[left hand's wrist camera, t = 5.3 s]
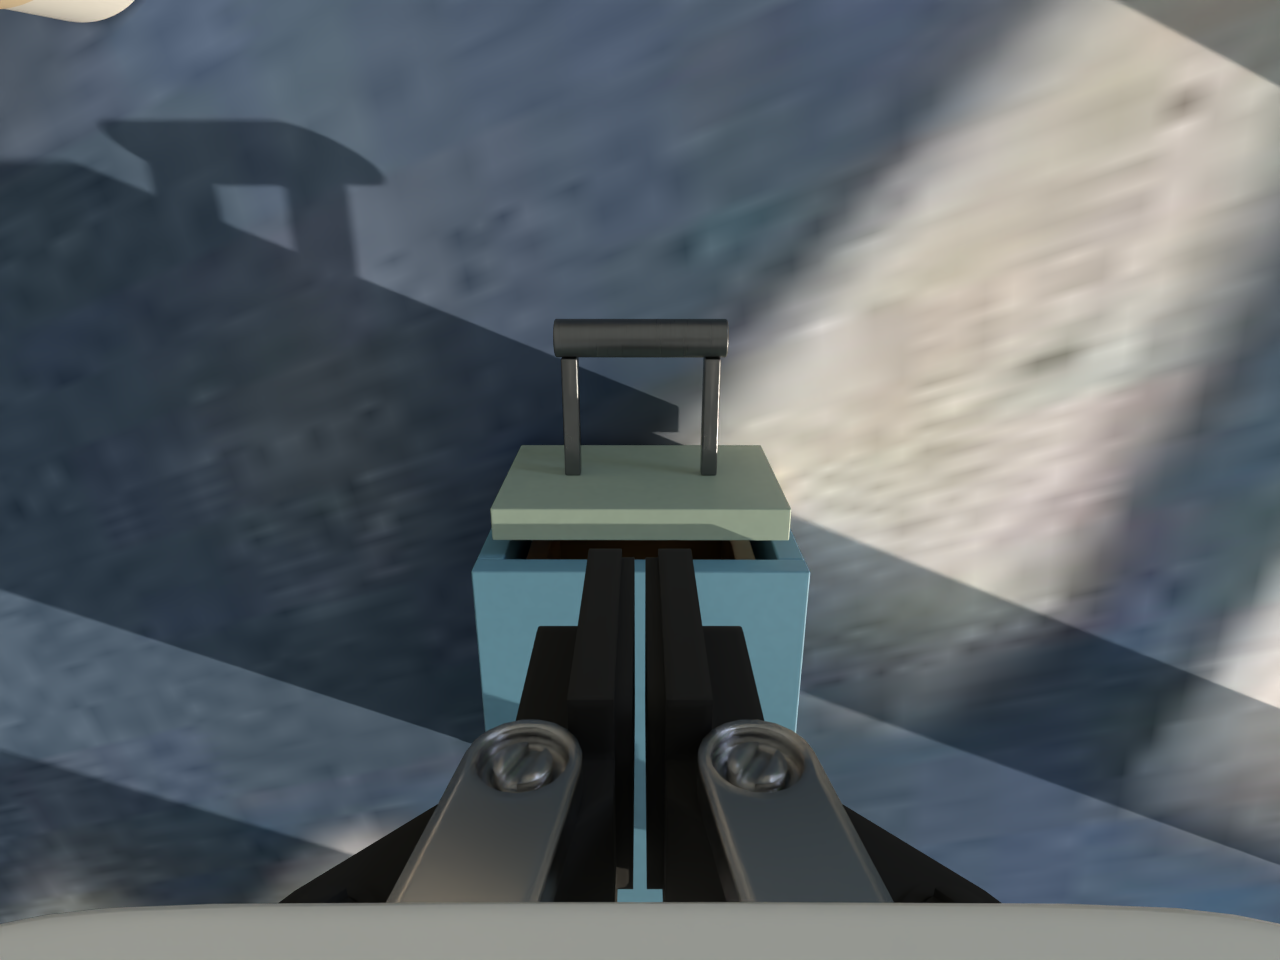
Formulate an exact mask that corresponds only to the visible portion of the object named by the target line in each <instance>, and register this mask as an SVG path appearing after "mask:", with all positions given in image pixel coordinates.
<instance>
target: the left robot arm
mask: <svg viewBox="0 0 1280 960" xmlns="http://www.w3.org/2000/svg"><path fill="white" fill-rule="evenodd" d="M634 764H635V557H622V549H589V551H588V558H587V565H586V571H585V578H584V585H583V592H582V599H581V606H580V613H579V620H578V626H539V627H538V629H537V632H536V637H535V641H534V645H533V649H532V654H531V658H530V662H529V666H528V670H527V675H526V679H525V683H524V687H523V691H522V696H521V700H520V704H519V708H518V713H517V717H516V721H513V722H508V723H504V724H501V725H499V726H497V727H494V728H492V729H490V730H488V731H486V732H485V733H484V734H482V735H481V736H480V737H478V738H477V739H476V740H474V742H473V743H472V744H471V746H470V747H469V748H468V750H467V751H466V752H465V754H464V756H463V758H462V760H461V762H460V764H459V765H458V767H457V769H456V771H455V773H454V775H453V777H452V779H451V781H450V782H449V784H448V786H447V788H446V790H445V792H444V794H443V796H442V798H441V799H440V801H439V803H438V804H437V805H436V806H434V807H432V808H431V809H429V810H427V811H426V812H424V813H423V814H421V815H419V816H418V817H416V818H414V819H413V820H411V821H409V822H408V823H406V824H404V825H403V826H401V827H399V828H398V829H396V830H394V831H393V832H391V833H390V834H388V835H386V836H385V837H383V838H381V839H380V840H378V841H376V842H375V843H373V844H371V845H370V846H368V847H366V848H365V849H363V850H362V851H360V852H358V853H357V854H355V855H353V856H352V857H350V858H348V859H347V860H345V861H343V862H342V863H340V864H338V865H337V866H335V867H334V868H332V869H330V870H329V871H327V872H325V873H324V874H322V875H320V876H319V877H317V878H315V879H314V880H312V881H310V882H309V883H307V884H306V885H304V886H302V887H301V888H299V889H297V890H296V891H294V892H293V893H291V894H290V895H289V896H287V897H286V898H285V899H283V900H282V901H281V902H279V903H275V904H198V905H172V906H146V907H121V908H101V909H92V910H83V911H75V912H66V913H57V914H48V915H42V916H37V917H32V918H27V919H22V920H17V921H12V922H8V923H3V924H0V960H1280V924H1277V923H1272V922H1268V921H1263V920H1258V919H1253V918H1248V917H1243V916H1238V915H1232V914H1223V913H1214V912H1205V911H1197V910H1188V909H1179V908H1159V907H1134V906H1108V905H1082V904H1005V903H1001V902H999V901H998V900H997V899H995V898H994V897H993V896H991V895H990V894H989V893H987V892H986V891H984V890H983V889H981V888H979V887H978V886H976V885H974V884H973V883H971V882H970V881H968V880H966V879H965V878H963V877H961V876H960V875H958V874H956V873H955V872H953V871H951V870H950V869H948V868H946V867H945V866H943V865H942V864H940V863H938V862H937V861H935V860H933V859H932V858H930V857H928V856H927V855H925V854H923V853H922V852H920V851H918V850H917V849H915V848H914V847H912V846H910V845H909V844H907V843H905V842H904V841H902V840H900V839H899V838H897V837H895V836H894V835H892V834H890V833H889V832H887V831H886V830H884V829H882V828H881V827H879V826H877V825H876V824H874V823H872V822H871V821H869V820H867V819H866V818H864V817H862V816H861V815H859V814H857V813H856V812H854V811H853V810H851V809H849V808H848V807H846V806H844V805H843V804H842V803H841V801H840V799H839V798H838V796H837V794H836V792H835V790H834V788H833V786H832V784H831V782H830V781H829V779H828V777H827V775H826V773H825V771H824V769H823V767H822V765H821V764H820V762H819V760H818V758H817V756H816V754H815V752H814V751H813V750H812V748H811V747H810V746H809V744H808V743H807V742H806V740H804V739H803V738H802V737H800V736H799V735H798V734H796V733H795V732H794V731H792V730H790V729H788V728H786V727H783V726H781V725H779V724H776V723H772V722H767V721H764V717H763V713H762V708H761V704H760V700H759V696H758V691H757V687H756V683H755V679H754V675H753V670H752V666H751V662H750V658H749V654H748V649H747V645H746V641H745V637H744V632H743V629H742V627H741V626H702V620H701V613H700V606H699V599H698V592H697V585H696V578H695V571H694V565H693V558H692V551H691V549H658V557H645V764H646V867H647V889H662V895H663V902H617V895H618V889H633V867H634Z"/></svg>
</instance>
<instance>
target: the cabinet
mask: <svg viewBox="0 0 1280 960" xmlns="http://www.w3.org/2000/svg"><path fill="white" fill-rule="evenodd" d="M531 542H532V540H493V539H492V528H491V530H490V532H489V534H488V536H487V539H486V541H485V543H484V545H483V547H482V550H481V552H480V554H479V556H478V558H477V560H476V563H475V565H474V567H473V569H472V571H471V575H472V587H473V598H474V609H475V620H476V631H477V643H478V654H479V665H480V676H481V688H482V699H483V710H484V721H485V732H486V731H488V730H490V729H492V728H494V727H497V726H499V725H501V724H504V723H508V722H513V721H516V717H517V713H518V708H519V704H520V700H521V696H522V691H523V687H524V683H525V679H526V675H527V670H528V666H529V662H530V658H531V654H532V649H533V645H534V641H535V637H536V632H537V629H538V627H539V626H578V620H579V613H580V606H581V599H582V592H583V585H584V578H585V571H586V565H587V559H526V558H527V555H528V552H529V549H530V546H531ZM750 543H751V546H752V550H753V553H754V556H755V559H756V560H693V565H694V571H695V578H696V585H697V592H698V599H699V606H700V613H701V620H702V626H741V627H742V629H743V632H744V637H745V641H746V645H747V649H748V654H749V658H750V662H751V666H752V670H753V675H754V679H755V683H756V687H757V691H758V696H759V700H760V704H761V708H762V713H763V717H764V721H767V722H772V723H776V724H779V725H781V726H783V727H786V728H788V729H790V730H792V731H794V732H795V733H796V725H797V714H798V703H799V692H800V681H801V669H802V658H803V647H804V636H805V625H806V614H807V603H808V592H809V581H810V571H809V569H808V566H807V564H806V562H805V560H804V558H803V556H802V554H801V551H800V549H799V547H798V545H797V543H796V540H795V538H794V536H793V534H792V531H791V529H790V533H789V540H750ZM617 902H663V895H662V889H647V867H646V764H645V560H635V764H634V867H633V889H618V895H617Z"/></svg>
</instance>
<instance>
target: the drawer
mask: <svg viewBox="0 0 1280 960" xmlns="http://www.w3.org/2000/svg"><path fill="white" fill-rule="evenodd" d="M728 343H729V327H728V321H727V320H726V319H555V321H554V327H553V344H554V353H555V356H556V357H562V358H561V377H562V403H563V430H564V445H521V447H520V449H519V451H518V453H517V455H516V457H515V460H514V462H513V464H512V466H511V468H510V470H509V472H508V474H507V476H506V478H505V480H504V482H503V484H502V486H501V488H500V490H499V492H498V494H497V496H496V499H495V501H494V503H493V505H492V507H491V509H490V513H491V526H492V539H493V540H532V542H531V546H530V549H529V552H528V555H527V558H526V559H587V558H588V551H589V549H622V557H635V560H645V557H658V549H691V551H692V558H693V560H756V559H755V556H754V553H753V550H752V546H751V543H750V540H789V533H790V520H791V508H790V506H789V504H788V502H787V500H786V497H785V495H784V493H783V491H782V489H781V487H780V485H779V483H778V481H777V479H776V477H775V474H774V472H773V470H772V468H771V466H770V464H769V462H768V460H767V458H766V456H765V454H764V451H763V449H762V447H761V446H760V445H718V425H719V399H720V374H721V359H720V357H726V356H727V353H728ZM578 357H704V358H703V390H702V423H701V445H581V428H580V393H579V359H578Z"/></svg>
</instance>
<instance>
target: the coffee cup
mask: <svg viewBox="0 0 1280 960" xmlns="http://www.w3.org/2000/svg"><path fill="white" fill-rule="evenodd" d="M133 1H134V0H0V9H8V10H13V11H18V12H24V13H29V14H34V15H39V16H44V17H50V18H55V19H60V20H65V21H71V22H94V21H99V20H103V19H106V18H109V17H111V16H114V15H116V14H118V13H119V12H121V11H122V10H124V9H125V8H127V7H128V6H129V5H130V4H131V3H132V2H133Z"/></svg>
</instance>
